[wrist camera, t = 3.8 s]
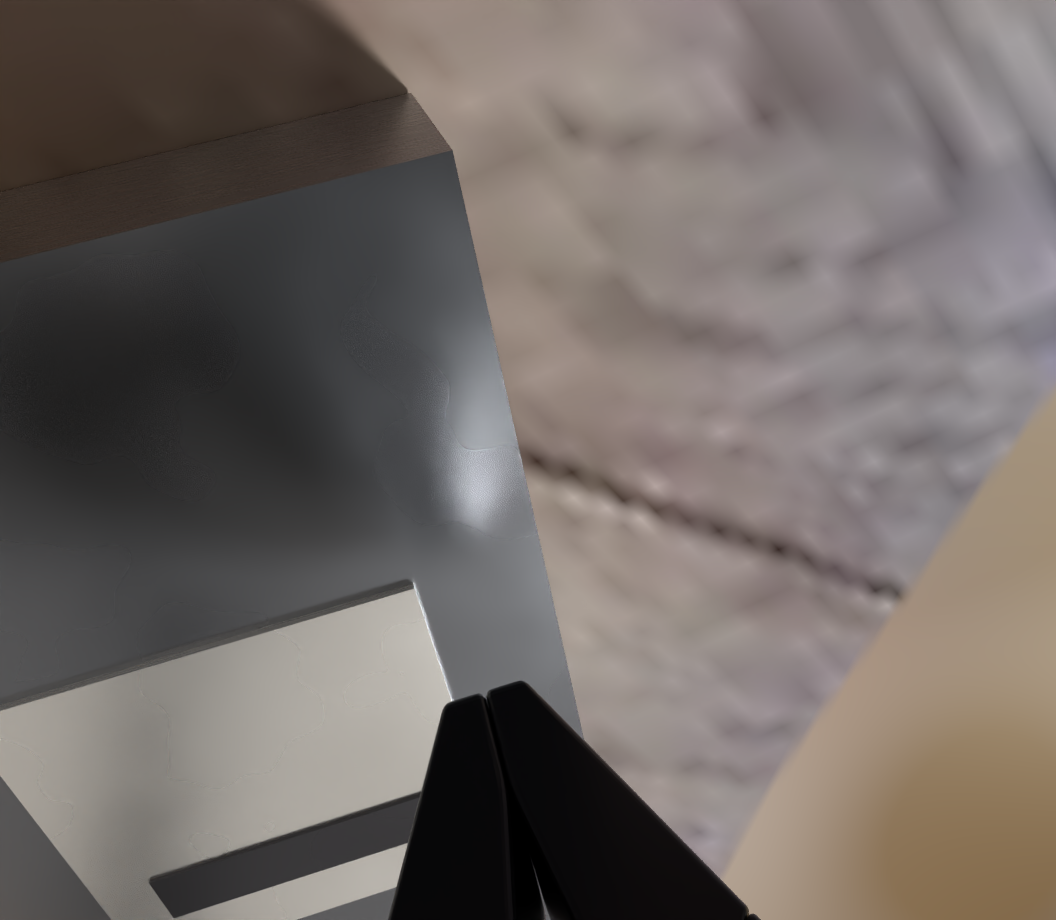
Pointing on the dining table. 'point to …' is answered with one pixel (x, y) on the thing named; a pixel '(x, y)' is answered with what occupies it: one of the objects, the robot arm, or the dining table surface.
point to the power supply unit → (249, 522)
